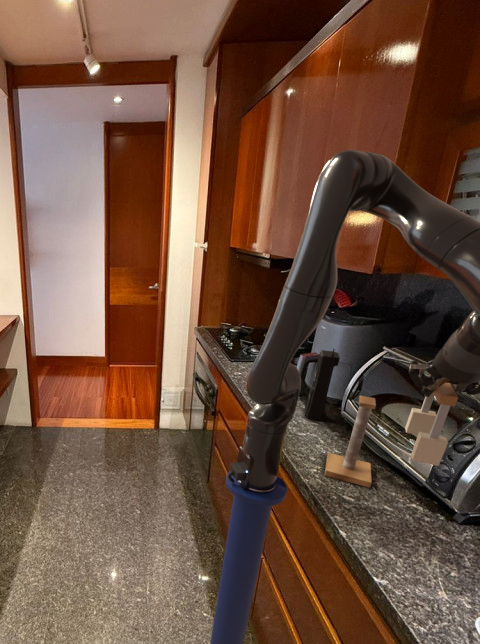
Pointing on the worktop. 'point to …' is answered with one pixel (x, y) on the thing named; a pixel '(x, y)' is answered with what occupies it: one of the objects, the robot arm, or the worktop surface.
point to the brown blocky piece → (431, 426)
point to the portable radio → (321, 385)
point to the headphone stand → (353, 451)
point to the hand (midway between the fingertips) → (436, 394)
